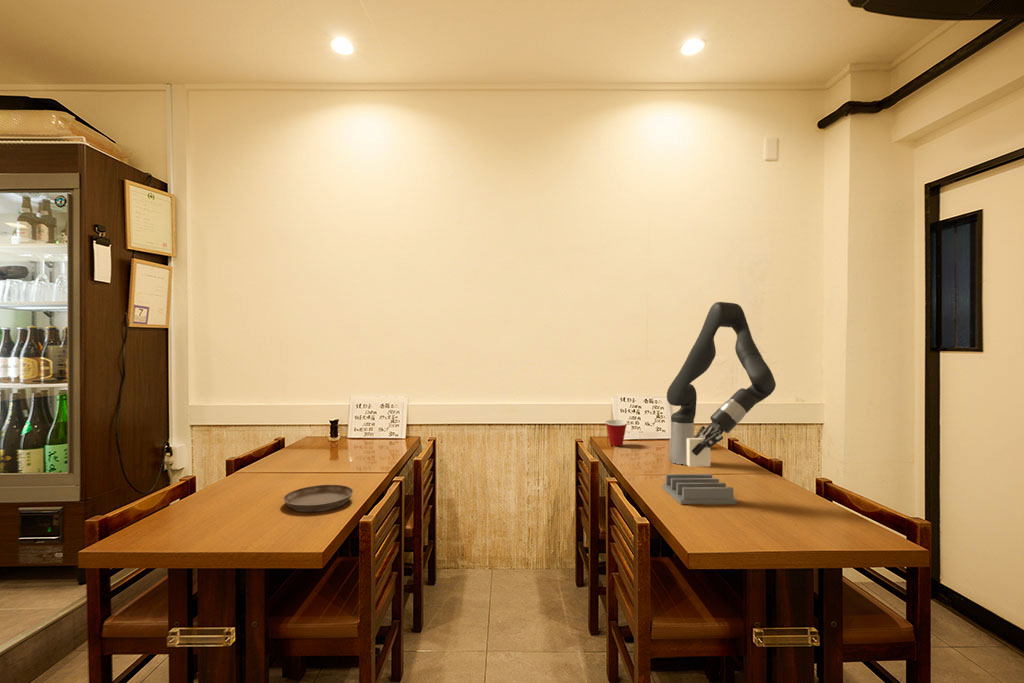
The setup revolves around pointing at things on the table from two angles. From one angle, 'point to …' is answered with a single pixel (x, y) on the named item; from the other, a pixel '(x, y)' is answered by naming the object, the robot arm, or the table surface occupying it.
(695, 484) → the dish rack
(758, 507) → the table surface
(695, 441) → the tall cream block
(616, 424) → the plastic cup
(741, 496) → the table surface
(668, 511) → the table surface
